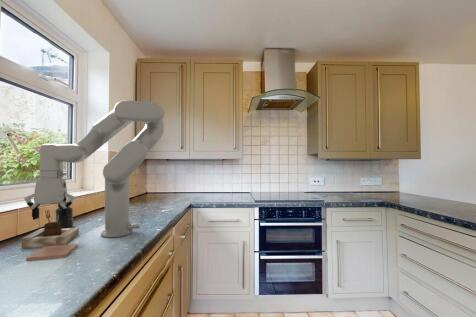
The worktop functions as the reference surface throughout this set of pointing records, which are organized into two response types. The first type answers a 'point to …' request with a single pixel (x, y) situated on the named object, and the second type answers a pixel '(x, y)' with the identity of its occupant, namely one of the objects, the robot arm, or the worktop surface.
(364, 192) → the worktop surface
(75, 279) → the worktop surface
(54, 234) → the utensil holder
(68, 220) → the supplement bottle
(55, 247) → the terracotta tile
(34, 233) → the wooden tray
